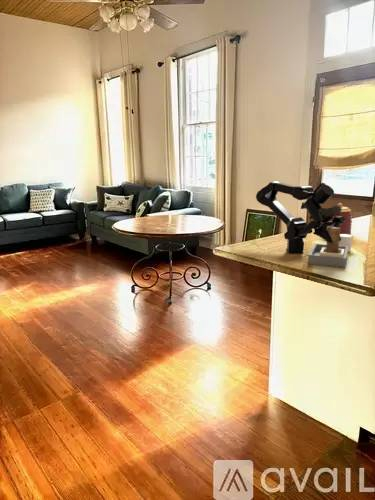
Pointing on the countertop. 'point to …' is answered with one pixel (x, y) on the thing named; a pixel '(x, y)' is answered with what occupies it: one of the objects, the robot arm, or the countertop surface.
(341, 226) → the canister
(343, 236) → the white cube
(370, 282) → the countertop surface
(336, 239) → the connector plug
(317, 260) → the walled box
